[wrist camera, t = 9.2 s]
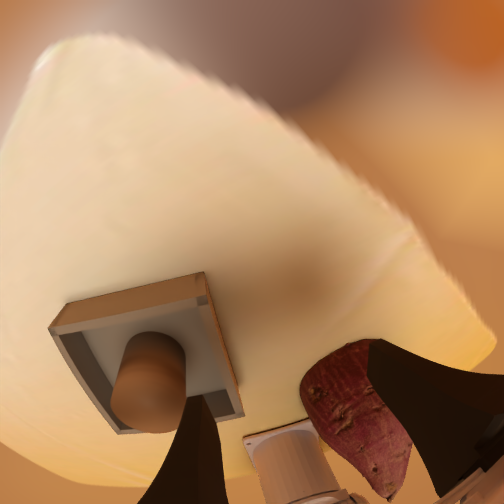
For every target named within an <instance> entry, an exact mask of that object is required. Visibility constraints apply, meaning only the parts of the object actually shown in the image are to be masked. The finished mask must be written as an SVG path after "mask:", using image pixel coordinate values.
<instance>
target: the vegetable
mask: <svg viewBox="0 0 504 504" xmlns="http://www.w3.org/2000/svg"><path fill="white" fill-rule="evenodd" d="M374 341H376V339H372V340H371V339H366V340H361V341H357V342H354V343H347V344H346V345H345V346H344V347H342V348H340V349H338V350H336V351H335V352H333V353H331V354H330V355H328V356H326V357H325V358H324V359H322V360H320V361H318V362H317V364H315V365H314V366H313V367H312V368H311V369H310V370H309V371H308V372H307V374H306V375H305V377H304V378H303V380H302V382H301V385H300V396H301V399H302V402H303V405H304V407H305V409H306V412H307V414H308V416H309V418H310V420H311V422H312V424H313V426H314V428H315V429H316V431H317V433H318V434H319V435H320V437H321V438H322V439H323V440H324V441H325V442H326V443H327V444H328V445H329V446H330V447H331V448H332V449H333V450H334V451H336V452H337V453H338V454H339V455H340V456H342V457H343V458H344V459H346V460H347V461H348V462H349V463H351V464H352V465H353V466H354V467H355V468H356V469H357V470H358V471H359V472H360V473H361V474H362V476H363V477H365V478H366V479H367V481H368V482H369V484H370V485H371V487H372V489H373V490H375V492H376V493H377V494H378V495H380V496H381V497H383V498H386V499H387V501H388V502H390V503H391V502H392V500H393V499H394V497H395V495H396V494H397V492H398V491H399V489H400V488H401V487H402V485H403V482H404V479H405V475H406V470H407V466H408V461H409V457H410V452H411V448H412V444H413V441H412V440H411V438H410V436H409V435H408V433H407V431H406V430H405V429H404V427H403V426H402V424H401V423H400V422H399V421H398V419H397V418H396V417H395V416H394V414H393V413H392V412H391V411H390V409H389V408H388V407H387V406H386V405H385V403H384V402H383V401H382V399H381V398H380V397H379V396H378V394H377V393H376V391H375V390H374V388H373V386H372V385H371V383H370V381H369V379H368V378H367V376H366V375H367V364H368V352H369V343H371V342H374Z"/></svg>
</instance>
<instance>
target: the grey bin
mask: <svg viewBox="0 0 504 504" xmlns="http://www.w3.org/2000/svg"><path fill="white" fill-rule="evenodd" d="M48 330H49V332H50V334H51V336H52V338H53V340H54V342H55V344H56V345H57V347H58V349H59V351H60V353H61V354H62V356H63V358H64V360H65V361H66V363H67V365H68V366H69V368H70V369H71V371H72V373H73V374H74V376H75V377H76V379H77V381H78V382H79V384H80V385H81V387H82V388H83V390H84V391H85V393H86V394H87V395H88V397H89V398H90V400H91V401H92V402H93V404H94V405H95V407H96V408H97V409H98V411H99V412H100V413H101V415H102V416H103V417H104V419H105V420H106V421H107V422H108V424H109V425H110V426H111V427H112V429H113V430H114V431H115V432H116V433H117V435H120V434H137V433H147V432H142V431H139V430H136V429H134V428H131V427H129V426H128V425H126V424H124V423H123V422H122V421H120V420H119V419H118V418H117V417H116V415H115V414H114V412H113V411H112V408H111V397H112V393H113V389H114V385H115V382H116V378H117V374H118V371H119V367H120V364H121V360H122V357H123V354H124V350H125V347H126V344H127V342H128V341H129V340H130V339H131V338H132V337H133V336H134V335H136V334H138V333H141V332H146V331H155V332H160V333H164V334H166V335H168V336H170V337H172V338H174V339H175V340H176V341H177V342H178V343H179V344H180V345H181V346H182V348H183V350H184V352H185V355H186V399H187V398H188V397H190V396H196V395H201V394H203V396H204V398H205V400H206V403H207V405H208V407H209V409H210V411H211V413H212V415H213V417H214V419H215V421H216V423H217V422H222V421H227V420H232V419H236V418H240V417H245V414H244V410H243V406H242V402H241V398H240V393H239V389H238V385H237V382H236V379H235V376H234V373H233V370H232V367H231V364H230V361H229V357H228V354H227V351H226V348H225V344H224V341H223V338H222V334H221V331H220V328H219V324H218V321H217V317H216V314H215V310H214V307H213V303H212V300H211V296H210V293H209V289H208V285H207V282H206V278H205V274H204V272H199V273H195V274H191V275H187V276H183V277H179V278H174V279H170V280H166V281H162V282H158V283H153V284H149V285H145V286H141V287H137V288H132V289H128V290H124V291H120V292H115V293H111V294H107V295H102V296H98V297H94V298H89V299H85V300H81V301H76V302H72V303H68V304H66V305H65V306H64V307H63V309H62V310H61V311H60V312H59V314H58V315H57V316H56V318H55V319H54V320H53V322H52V323H51V324H50V326H49V327H48Z"/></svg>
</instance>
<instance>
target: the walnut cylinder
mask: <svg viewBox="0 0 504 504" xmlns="http://www.w3.org/2000/svg"><path fill="white" fill-rule="evenodd" d="M185 403H186V355H185V352H184V350H183V348H182V346H181V345H180V344H179V343H178V342H177V341H176V340H175V339H174V338H172V337H170V336H168V335H166V334H164V333H160V332H155V331H146V332H141V333H138V334H136V335H134V336H133V337H132V338H131V339H130V340H129V341H128V342H127V344H126V347H125V350H124V354H123V357H122V360H121V364H120V367H119V371H118V374H117V378H116V382H115V385H114V389H113V393H112V397H111V408H112V411H113V412H114V414H115V415H116V417H117V418H118V419H119V420H120V421H122V422H123V423H124V424H126V425H128V426H129V427H131V428H134V429H136V430H139V431H142V432H147V433H167V432H171V431H174V430H176V429H178V426H179V423H180V420H181V417H182V414H183V410H184V407H185Z"/></svg>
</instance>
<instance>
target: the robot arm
mask: <svg viewBox="0 0 504 504" xmlns="http://www.w3.org/2000/svg"><path fill="white" fill-rule="evenodd" d="M366 376H367V378H368V379H369V381H370V383H371V385H372V386H373V388H374V390H375V391H376V393H377V394H378V396H379V397H380V398H381V399H382V401H383V402H384V403H385V405H386V406H387V407H388V408H389V409H390V411H391V412H392V413H393V414H394V416H395V417H396V418H397V419H398V421H399V422H400V423H401V424H402V426H403V427H404V429H405V430H406V431H407V433H408V435H409V436H410V438H411V440H412V441H413V443H414V445H415V447H416V448H417V450H418V452H419V454H420V456H421V458H422V460H423V462H424V464H425V466H426V468H427V470H428V473H429V475H430V478H431V480H432V482H433V485H434V488H435V491H436V493H437V495H438V496H439V497H440V498H441V499H440V500H438V501H437V502H435V503H434V504H455V503H456V502H457V501H458V500H460V499H461V500H460V504H504V375H497V374H481V373H475V372H468V371H463V370H459V369H455V368H451V367H448V366H444V365H441V364H438V363H436V362H433V361H430V360H428V359H425V358H423V357H420V356H418V355H416V354H413V353H411V352H409V351H407V350H404V349H402V348H400V347H398V346H396V345H394V344H392V343H390V342H387V341H385V340H383V339H378V340H376V341H374V342H371V343H369V352H368V364H367V375H366ZM243 444H244V446H245V448H246V450H247V452H248V455H249V457H250V459H251V461H252V463H253V465H254V468H255V470H256V472H257V474H258V476H259V479H260V483H261V487H262V490H263V494H264V497H265V500H266V503H267V504H369V502H368V501H367V500H366V499H365V498H364V497H363V496H362V495H358V494H356V493H352V494H348V492H347V490H346V489H342V490H341V488H340V486H339V484H338V482H337V480H336V478H335V476H334V474H333V472H332V470H331V468H330V466H329V464H328V462H327V460H326V458H325V456H324V454H323V452H322V449H321V447H320V445H319V434H318V433H317V431H316V429H315V428H314V426H313V424H312V422H311V420H310V419H307V420H304V421H301V422H298V423H295V424H292V425H289V426H285V427H282V428H279V429H275V430H272V431H268V432H264V433H260V434H256V435H252V436H248V437H245V438H243ZM137 504H229V503H228V499H227V495H226V489H225V481H224V472H223V462H222V452H221V443H220V438H219V433H218V429H217V424H216V421H215V419H214V417H213V415H212V413H211V411H210V409H209V407H208V405H207V403H206V400H205V398H204V396H203V394H201V395H196V396H190V397H188V398H187V399H186V403H185V407H184V410H183V414H182V417H181V420H180V423H179V426H178V429H177V432H176V434H175V437H174V440H173V442H172V445H171V447H170V449H169V452H168V454H167V456H166V458H165V460H164V462H163V464H162V466H161V468H160V470H159V472H158V474H157V475H156V477H155V479H154V480H153V482H152V484H151V485H150V487H149V488H148V490H147V491H146V493H145V494H144V495H143V497H142V498H141V499H140V501H139V502H138V503H137Z"/></svg>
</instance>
